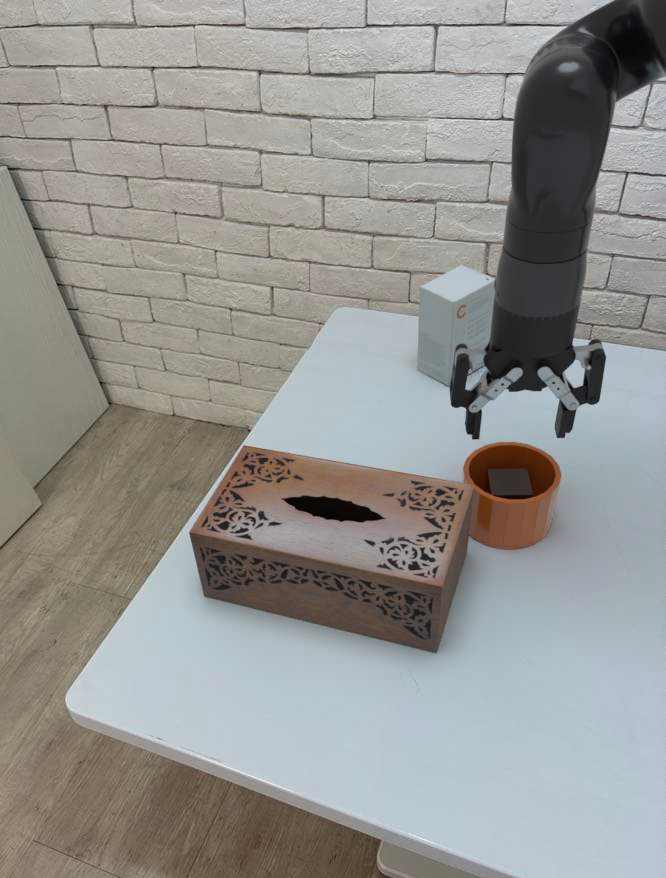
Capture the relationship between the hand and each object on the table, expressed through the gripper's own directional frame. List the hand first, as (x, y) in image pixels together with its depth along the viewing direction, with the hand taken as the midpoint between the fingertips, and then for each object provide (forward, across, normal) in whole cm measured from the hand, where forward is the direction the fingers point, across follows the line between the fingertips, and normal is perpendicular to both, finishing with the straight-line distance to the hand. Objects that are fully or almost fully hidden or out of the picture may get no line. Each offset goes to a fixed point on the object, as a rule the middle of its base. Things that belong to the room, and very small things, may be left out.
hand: (516, 434), depth 84 cm
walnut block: (+11, 0, 0) cm, 11 cm away
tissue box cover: (+12, -19, -10) cm, 24 cm away
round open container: (+12, 0, 0) cm, 12 cm away
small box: (+12, -4, +31) cm, 33 cm away
